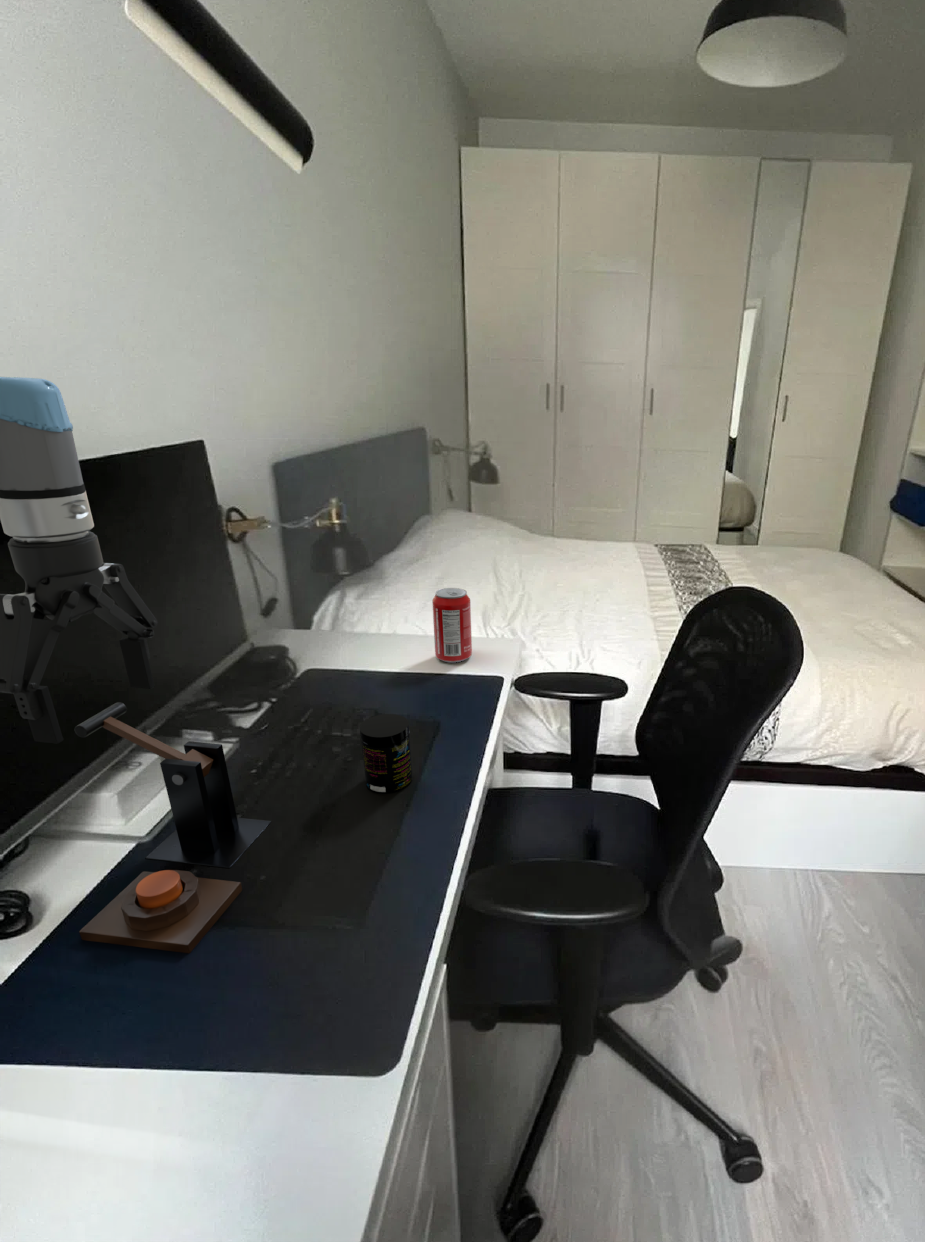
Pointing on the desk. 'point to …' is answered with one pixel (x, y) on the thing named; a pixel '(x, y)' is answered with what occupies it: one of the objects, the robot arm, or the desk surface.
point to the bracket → (204, 813)
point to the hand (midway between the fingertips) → (99, 711)
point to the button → (159, 889)
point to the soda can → (452, 625)
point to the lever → (137, 736)
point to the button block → (163, 915)
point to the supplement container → (386, 753)
